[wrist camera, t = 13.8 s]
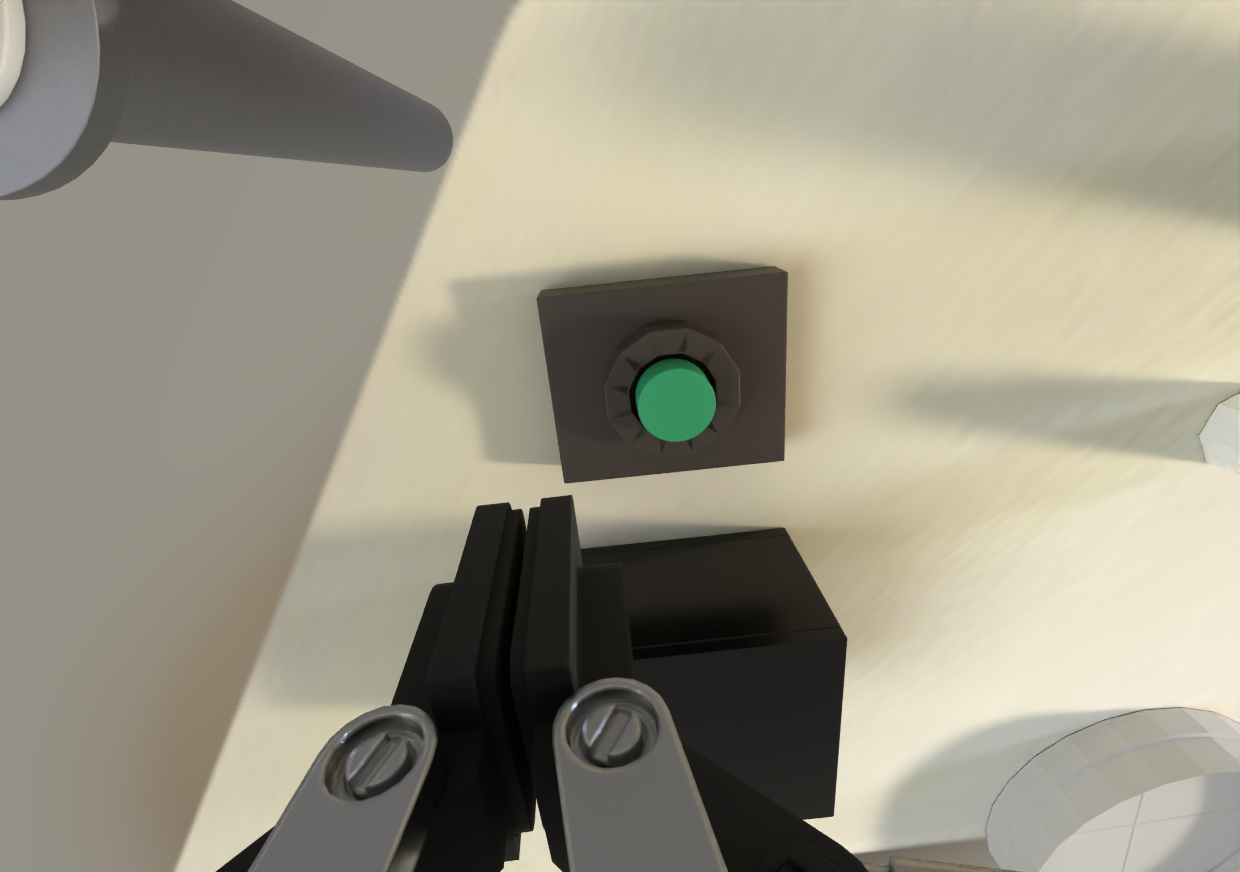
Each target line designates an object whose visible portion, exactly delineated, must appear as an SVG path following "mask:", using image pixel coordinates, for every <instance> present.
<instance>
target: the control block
mask: <svg viewBox="0 0 1240 872" xmlns="http://www.w3.org/2000/svg"><path fill="white" fill-rule="evenodd" d="M787 287H788V272H786V271H784V270H781V269H779V268H777V267H774V266H773V267H763V268H754V269H744V270H734V271H725V272H715V273H705V274H696V275H686V276H676V277H667V278H657V279H647V280H638V281H628V282H618V283H609V284H599V285H589V286H580V287H570V288H560V289H551V290H541V291H540V293H539V295H538V297H537V304H538V310H539V317H540V324H541V330H542V337H543V344H544V351H545V357H546V364H547V371H548V377H549V384H550V391H551V397H552V404H553V411H554V418H555V424H556V431H557V438H558V444H559V451H560V458H561V464H562V471H563V478H564V483H574V482H584V481H594V480H603V479H613V478H623V477H632V476H642V475H651V474H661V473H671V472H680V471H690V470H699V469H709V468H719V467H728V466H738V465H748V464H757V463H767V462H776V461H784V449H785V395H786V341H787ZM673 358H676V359H683V360H687V361H689V362H691V363H693V364H695V365H696V366H697V367H699V368H700V369H701V370H702V372H703V373H704V375H705V376H706V378H707V380H708V381H709V383H710V385H711V386H712V388H713V391H714V393H715V398H716V408H715V412H714V416H713V418H712V420H711V422H710V423H709V425H708V426H707V427H706V428H705V429H704V430H703V431H702V432H701V433H700V434H698V435H697V436H695V437H693V438H691V439H688V440H685V441H680V442H671V441H665V440H662V439H659V438H657V437H655V436H653V435H652V434H651V433H650V432H648V431H647V430H646V428H645V427H644V426H643V424H642V422H641V420H640V417H639V414H638V409H637V404H636V395H635V394H636V387H637V384H638V381H639V379H640V378H641V376H642V375H643V373H644V372H645V371H646V370H647V369H648V368H649V367H650V366H652V365H653V364H655V363H657V362H659V361H662V360H665V359H673Z"/></svg>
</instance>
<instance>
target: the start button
mask: <svg viewBox="0 0 1240 872" xmlns="http://www.w3.org/2000/svg"><path fill="white" fill-rule="evenodd" d="M635 395H636V404H637V409H638V414H639V417H640V420H641V422H642V424H643V426H644V427H645V428H646V430H647V431H648V432H650V433H651V434H652V435H653V436H655V437H657V438H659V439H662V440H665V441H671V442H680V441H685V440H688V439H691V438H693V437H695V436H697V435H698V434H700V433H701V432H702V431H703V430H704V429H705V428H706V427H707V426H708V425H709V423H710V422H711V420H712V418H713V416H714V412H715V408H716V398H715V393H714V391H713V388H712V386H711V385H710V383H709V381H708V380H707V378H706V376H705V375H704V373H703V372H702V370H701V369H700V368H699V367H697V366H696V365H695V364H693V363H691V362H689V361H687V360H683V359H676V358H673V359H665V360H662V361H659V362H657V363H655V364H653V365H652V366H650V367H649V368H648V369H647V370H646V371H645V372H644V373H643V375H642V376H641V378H640V379H639V381H638V384H637V387H636V394H635Z"/></svg>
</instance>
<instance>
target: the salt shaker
mask: <svg viewBox="0 0 1240 872" xmlns="http://www.w3.org/2000/svg"><path fill="white" fill-rule="evenodd" d="M1199 437H1200V441H1201V444H1202V448H1203V451H1204V455H1205V458H1206V461H1207V463H1209V464H1212V465H1215V466H1218V467H1221V468H1224V469H1227V470H1230V471H1233V472H1236V473H1239V474H1240V393H1239V394H1237V395H1235V396H1233V397H1231V398H1229V399H1227V400H1225V401H1224V402H1222V403H1220V404H1218V406H1217V407H1216V409H1215V410H1214V412H1213V414H1212V415H1211V417H1210V418H1209V420H1208V422H1207V423H1206V425H1205V427H1204V428H1203V430H1202V431H1201V433H1200V435H1199Z"/></svg>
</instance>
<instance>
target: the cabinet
mask: <svg viewBox="0 0 1240 872" xmlns="http://www.w3.org/2000/svg"><path fill="white" fill-rule="evenodd" d="M580 551H581V558H582V565H583V567H587V566H596V565H604V564H612V563H622V571H623V579H624V588H625V596H626V604H627V612H628V620H629V629H630V637H631V645H632V653H633V661H634V670H635V678H636V681H639V682H641V683H643V684H646V685H648V686H650V687H651V688H652V689H653V690H654V691H655V692H657V693H658V694H659V695H660V696H661V697H662V699H663V701H664V702H665V704H666V706H667V707H668V709H669V711H670V714H671V717H672V720H673V722H674V725H675V728H676V731H677V733H678V736H679V739H680V741H682V742H684V743H685V744H687V745H688V746H690V747H691V748H693V749H694V750H696V751H697V752H699V753H700V754H702V755H704V756H705V757H707V758H708V759H710V760H711V761H713V762H714V763H716V764H717V765H719V766H720V767H722V768H723V769H725V770H727V771H728V772H730V773H731V774H733V775H734V776H736V777H737V778H739V779H740V780H742V781H743V782H745V783H746V784H748V785H750V786H751V787H753V788H754V789H756V790H757V791H759V792H760V793H762V794H763V795H765V796H766V797H768V798H769V799H771V800H773V801H774V802H776V803H777V804H779V805H780V806H782V807H783V808H785V809H786V810H788V811H789V812H791V813H793V814H794V815H796V816H797V817H799V818H800V819H802V820H805V819H815V818H824V817H833V816H834V806H835V793H836V780H837V767H838V754H839V740H840V727H841V714H842V701H843V688H844V675H845V662H846V648H847V637H846V635H845V634H844V632H843V630H842V628H841V627H840V625H839V623H838V621H837V619H836V618H835V616H834V614H833V612H832V611H831V609H830V607H829V605H828V603H827V602H826V600H825V598H824V596H823V595H822V593H821V591H820V589H819V588H818V586H817V584H816V582H815V580H814V579H813V577H812V575H811V573H810V572H809V570H808V568H807V566H806V564H805V563H804V561H803V559H802V557H801V556H800V554H799V552H798V550H797V549H796V547H795V545H794V543H793V541H792V540H791V538H790V536H789V535H788V533H787V531H786V529H785V528H781V529H771V530H762V531H752V532H742V533H733V534H723V535H714V536H704V537H694V538H685V539H675V540H666V541H656V542H646V543H637V544H627V545H618V546H608V547H598V548H589V549H580Z"/></svg>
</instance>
